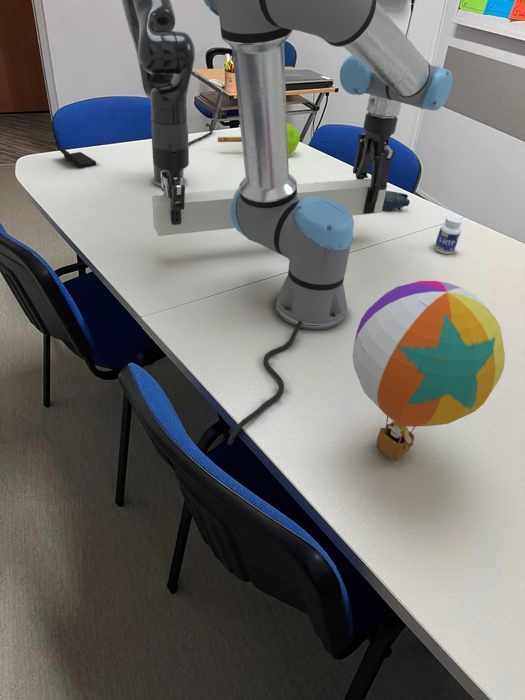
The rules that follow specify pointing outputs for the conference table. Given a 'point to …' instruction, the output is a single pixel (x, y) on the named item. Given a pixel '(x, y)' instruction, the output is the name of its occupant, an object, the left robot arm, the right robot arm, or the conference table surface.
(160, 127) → the left robot arm
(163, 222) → the beam
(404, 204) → the fish model
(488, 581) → the conference table surface
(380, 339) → the toy
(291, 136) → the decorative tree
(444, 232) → the pill bottle
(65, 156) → the black handled tool
